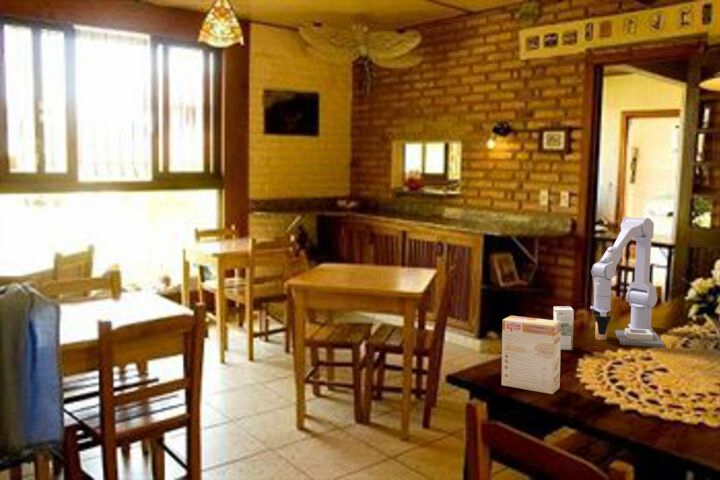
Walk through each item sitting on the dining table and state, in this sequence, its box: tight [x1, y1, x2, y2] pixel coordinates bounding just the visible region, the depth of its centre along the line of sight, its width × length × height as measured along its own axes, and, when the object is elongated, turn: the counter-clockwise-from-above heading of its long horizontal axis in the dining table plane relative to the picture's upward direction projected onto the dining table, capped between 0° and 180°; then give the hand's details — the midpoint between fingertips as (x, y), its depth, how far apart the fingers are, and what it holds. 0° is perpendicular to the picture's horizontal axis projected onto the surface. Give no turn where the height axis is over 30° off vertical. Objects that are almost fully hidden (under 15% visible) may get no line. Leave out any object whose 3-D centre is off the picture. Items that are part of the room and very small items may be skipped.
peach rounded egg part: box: [594, 321, 608, 341], centre depth 235 cm, size 4×4×6 cm
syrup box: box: [552, 305, 575, 351], centre depth 222 cm, size 6×6×14 cm
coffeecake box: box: [501, 315, 561, 395], centre depth 182 cm, size 15×7×20 cm, turn 56°
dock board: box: [614, 327, 665, 348], centre depth 233 cm, size 18×14×3 cm
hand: (601, 331), depth 235 cm, fingers open, 7 cm apart
